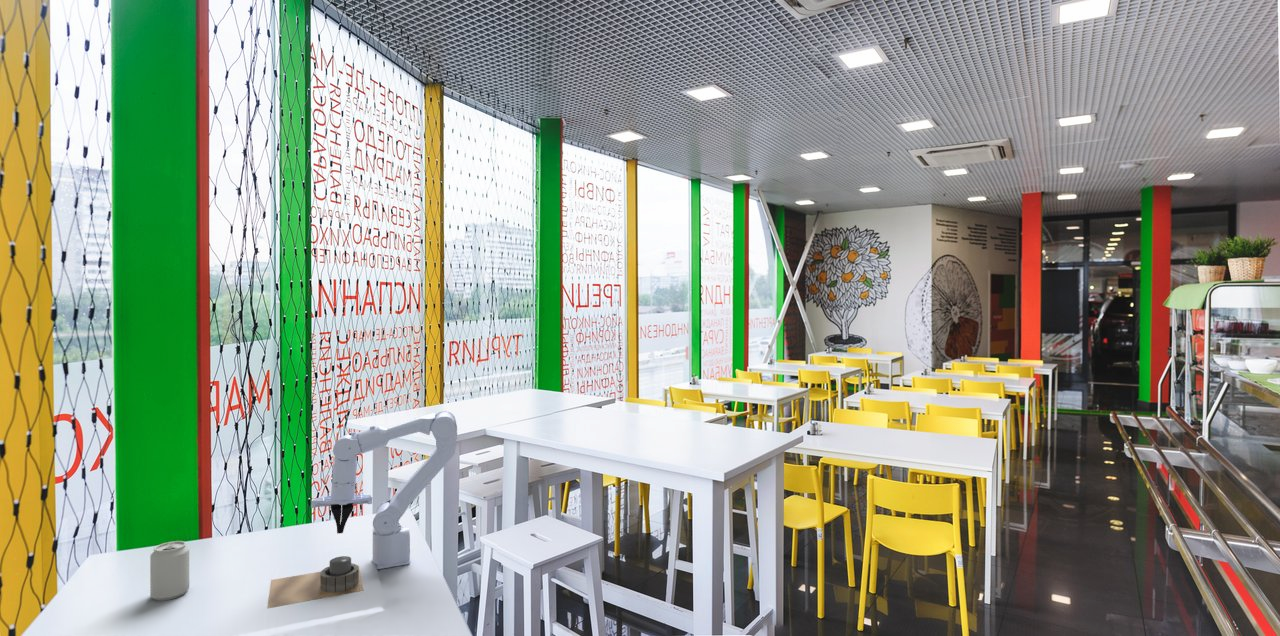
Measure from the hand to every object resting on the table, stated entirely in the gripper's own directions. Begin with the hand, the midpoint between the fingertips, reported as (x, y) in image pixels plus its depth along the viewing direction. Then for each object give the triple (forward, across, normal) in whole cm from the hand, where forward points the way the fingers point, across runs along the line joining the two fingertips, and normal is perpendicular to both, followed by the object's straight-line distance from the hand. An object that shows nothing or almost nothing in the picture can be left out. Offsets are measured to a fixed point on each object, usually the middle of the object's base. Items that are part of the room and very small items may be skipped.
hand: (339, 532), depth 164 cm
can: (+12, -36, +1) cm, 38 cm away
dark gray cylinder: (+8, 0, -13) cm, 16 cm away
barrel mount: (+10, -5, -11) cm, 16 cm away
